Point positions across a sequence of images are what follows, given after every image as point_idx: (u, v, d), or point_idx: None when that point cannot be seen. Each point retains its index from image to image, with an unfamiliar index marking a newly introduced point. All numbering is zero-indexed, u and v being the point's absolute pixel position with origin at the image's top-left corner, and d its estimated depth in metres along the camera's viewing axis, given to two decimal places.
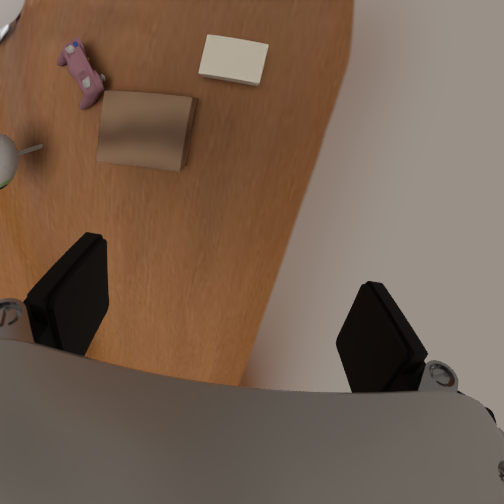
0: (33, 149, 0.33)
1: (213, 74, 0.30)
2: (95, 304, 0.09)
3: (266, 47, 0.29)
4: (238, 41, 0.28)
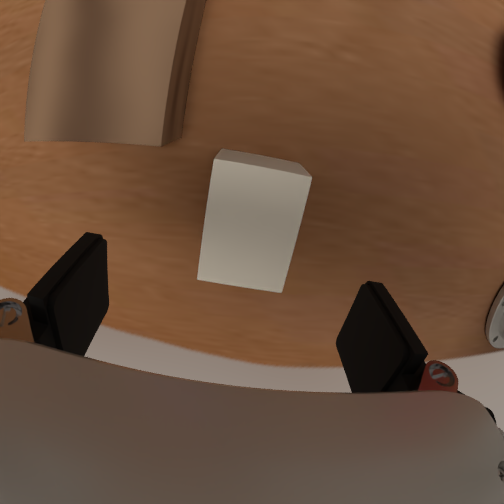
0: None
1: (211, 191, 0.15)
2: (95, 304, 0.09)
3: (275, 289, 0.18)
4: (289, 240, 0.17)
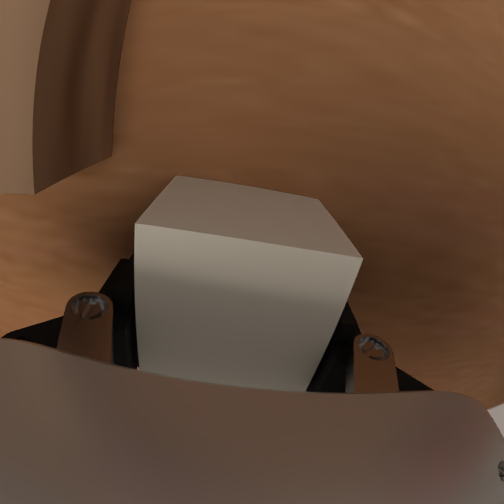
0: None
1: (139, 291, 0.07)
2: None
3: None
4: (304, 369, 0.08)
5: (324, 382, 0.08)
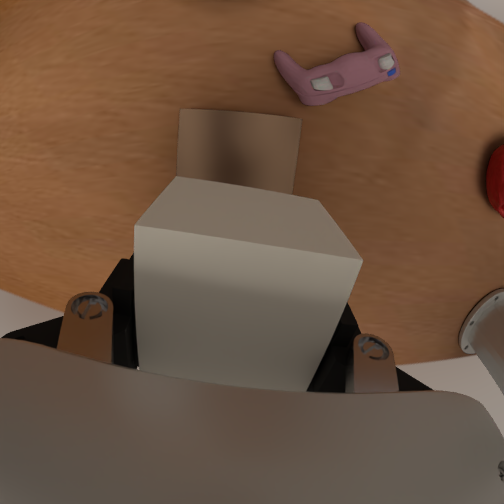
0: None
1: (139, 293, 0.07)
2: None
3: None
4: (304, 370, 0.08)
5: (324, 382, 0.08)
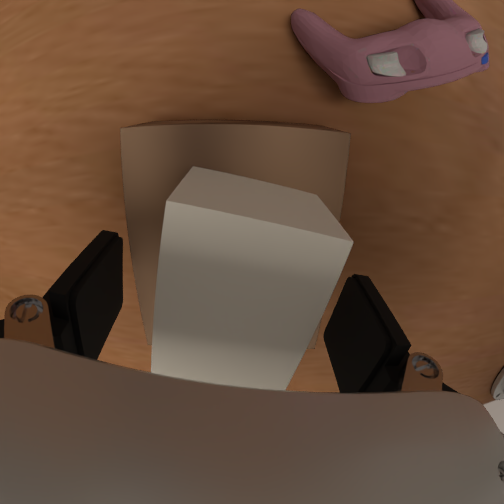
0: None
1: (163, 261, 0.08)
2: (111, 301, 0.09)
3: None
4: (300, 340, 0.09)
5: None
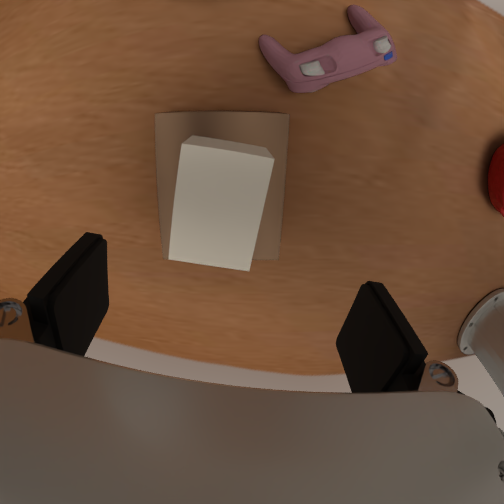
0: None
1: (179, 174, 0.16)
2: (95, 304, 0.09)
3: (242, 267, 0.19)
4: (254, 219, 0.17)
5: None
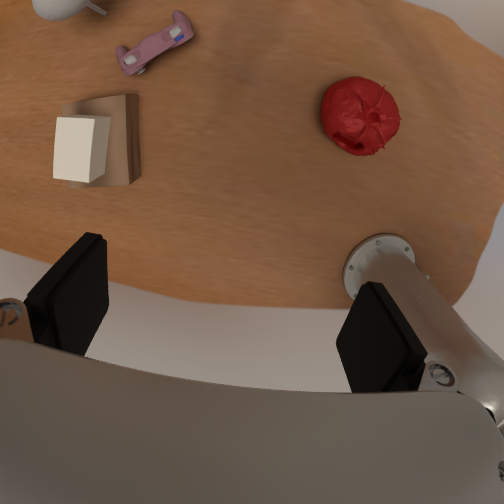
0: (96, 10, 0.25)
1: (56, 132, 0.26)
2: (95, 304, 0.09)
3: (85, 180, 0.29)
4: (88, 152, 0.28)
5: None
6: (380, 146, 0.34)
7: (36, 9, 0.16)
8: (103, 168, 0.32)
